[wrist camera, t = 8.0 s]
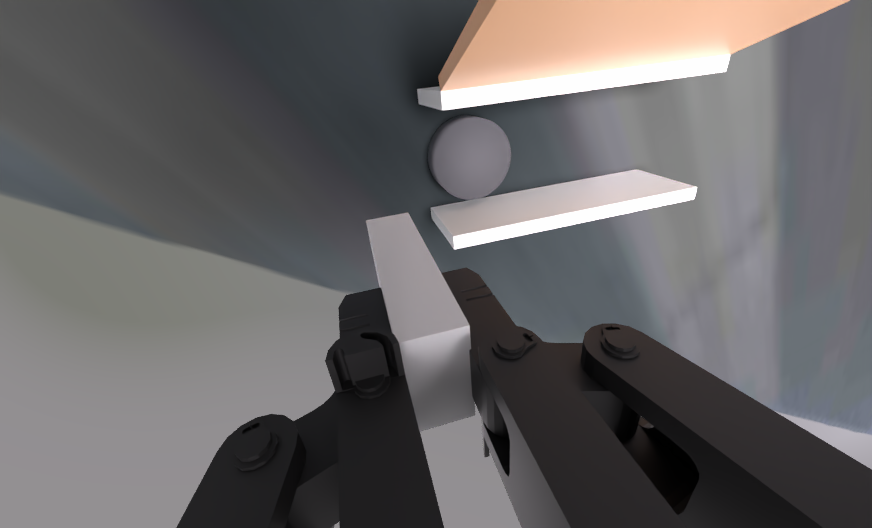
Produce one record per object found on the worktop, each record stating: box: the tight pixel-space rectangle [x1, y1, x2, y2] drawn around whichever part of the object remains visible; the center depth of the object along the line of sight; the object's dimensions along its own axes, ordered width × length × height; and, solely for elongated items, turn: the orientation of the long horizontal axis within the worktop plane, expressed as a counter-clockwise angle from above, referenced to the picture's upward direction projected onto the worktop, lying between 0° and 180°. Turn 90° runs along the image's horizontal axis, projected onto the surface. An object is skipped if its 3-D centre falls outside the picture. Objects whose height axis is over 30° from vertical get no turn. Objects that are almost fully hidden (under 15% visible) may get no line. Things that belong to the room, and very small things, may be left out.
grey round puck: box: [428, 115, 511, 200], centre depth 28 cm, size 6×6×2 cm
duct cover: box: [438, 0, 850, 91], centre depth 17 cm, size 10×20×1 cm
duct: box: [417, 55, 730, 249], centre depth 27 cm, size 10×20×6 cm, turn 97°
